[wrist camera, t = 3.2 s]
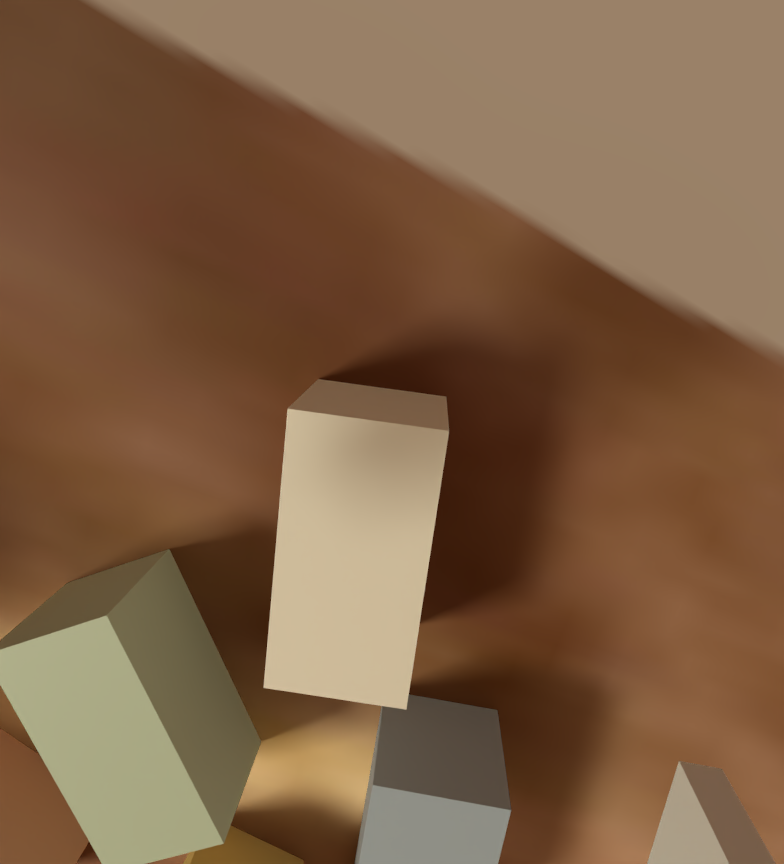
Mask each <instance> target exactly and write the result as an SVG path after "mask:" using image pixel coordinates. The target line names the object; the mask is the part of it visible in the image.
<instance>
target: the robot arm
mask: <svg viewBox="0 0 784 864" xmlns="http://www.w3.org/2000/svg"><path fill="white" fill-rule="evenodd" d="M647 864H775V862H774V860H773V858H772V857H771V855H770V853H769V851H768V849H767V848H766V846H765V844H764V842H763V841H762V839H761V837H760V835H759V834H758V832H757V830H756V828H755V827H754V825H753V823H752V821H751V819H750V818H749V816H748V814H747V812H746V811H745V809H744V807H743V805H742V804H741V802H740V800H739V798H738V796H737V795H736V793H735V791H734V789H733V788H732V786H731V784H730V782H729V781H728V779H727V777H726V775H725V774H724V772H723V770H722V769H720V768H714V767H709V766H703V765H698V764H692V763H687V762H682V761H679V763H678V766H677V770H676V773H675V776H674V779H673V782H672V786H671V789H670V792H669V795H668V798H667V802H666V805H665V808H664V811H663V814H662V818H661V821H660V824H659V827H658V831H657V834H656V837H655V840H654V843H653V847H652V850H651V853H650V856H649V859H648V863H647Z"/></svg>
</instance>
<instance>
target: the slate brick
mask: <svg viewBox="0 0 784 864" xmlns="http://www.w3.org/2000/svg"><path fill="white" fill-rule="evenodd" d="M510 813H511V805H510V797H509V790H508V783H507V775H506V768H505V761H504V753H503V746H502V739H501V731H500V724H499V717H498V710H495V709H489V708H483V707H478V706H472V705H466V704H461V703H455V702H449V701H444V700H438V699H432V698H427V697H421V696H415V695H410V694H409V696H408V702H407V709H399V708H392V707H386V706H382V708H381V713H380V719H379V725H378V731H377V736H376V742H375V748H374V753H373V759H372V765H371V771H370V776H369V782H368V788H367V793H366V799H365V805H364V811H363V816H362V822H361V828H360V833H359V839H358V845H357V851H356V856H355V862H354V864H498V862H499V858H500V854H501V850H502V846H503V842H504V838H505V834H506V830H507V826H508V822H509V817H510Z"/></svg>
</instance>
